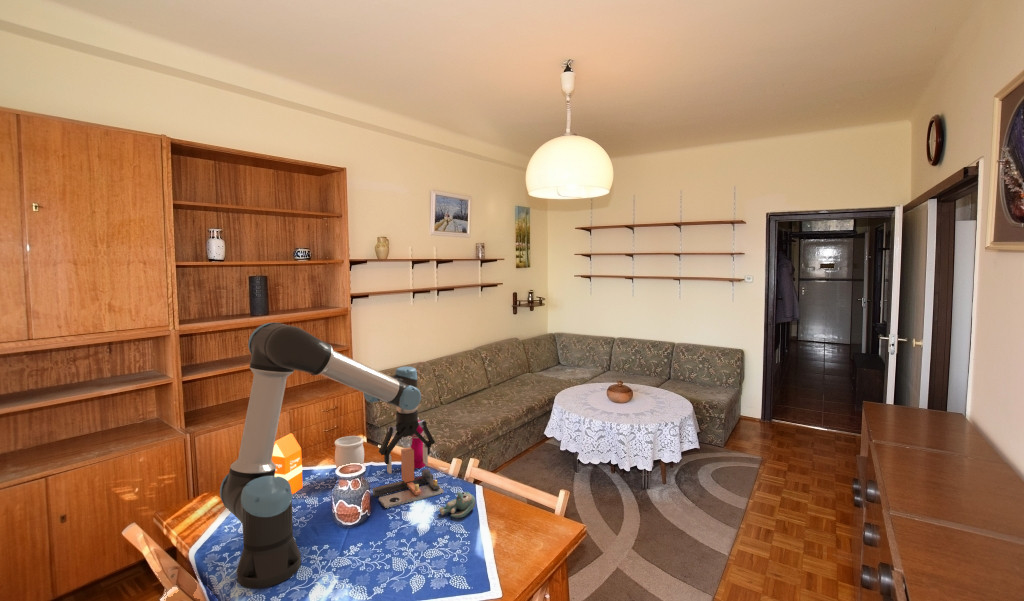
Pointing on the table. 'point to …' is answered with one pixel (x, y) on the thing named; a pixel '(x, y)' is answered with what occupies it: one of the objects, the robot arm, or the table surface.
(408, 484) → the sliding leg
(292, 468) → the orange juice
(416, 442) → the pepper mill
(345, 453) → the jar
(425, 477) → the rail
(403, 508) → the table surface
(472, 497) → the stuffed animal
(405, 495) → the bolt plate
